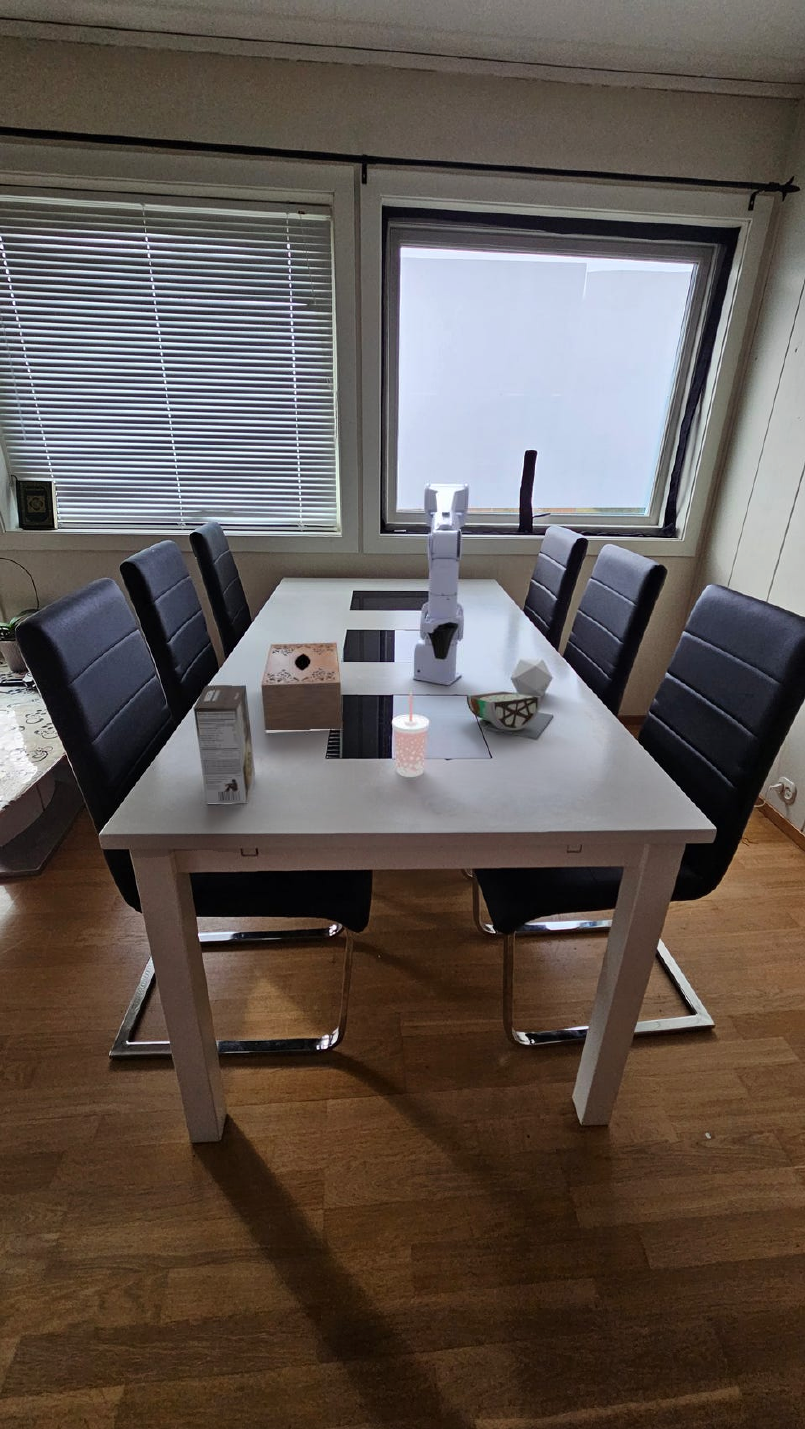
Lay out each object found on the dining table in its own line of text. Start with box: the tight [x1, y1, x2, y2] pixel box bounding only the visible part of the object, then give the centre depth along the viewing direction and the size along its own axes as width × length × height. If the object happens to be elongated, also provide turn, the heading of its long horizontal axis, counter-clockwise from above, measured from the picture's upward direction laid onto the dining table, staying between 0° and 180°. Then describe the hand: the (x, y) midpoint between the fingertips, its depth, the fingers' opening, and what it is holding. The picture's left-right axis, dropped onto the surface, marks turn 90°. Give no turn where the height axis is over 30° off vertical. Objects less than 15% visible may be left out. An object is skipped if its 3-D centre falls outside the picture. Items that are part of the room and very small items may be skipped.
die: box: [510, 658, 554, 698], centre depth 135 cm, size 8×9×10 cm
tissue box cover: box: [260, 642, 343, 730], centre depth 128 cm, size 26×14×10 cm, turn 7°
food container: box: [466, 691, 542, 731], centre depth 120 cm, size 12×6×10 cm
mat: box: [485, 711, 554, 740], centre depth 122 cm, size 10×12×1 cm
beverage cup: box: [391, 692, 430, 778], centre depth 101 cm, size 6×6×14 cm
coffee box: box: [193, 684, 256, 804], centre depth 94 cm, size 9×6×16 cm
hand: (440, 658), depth 128 cm, fingers closed
